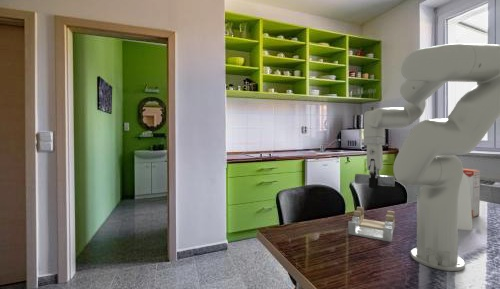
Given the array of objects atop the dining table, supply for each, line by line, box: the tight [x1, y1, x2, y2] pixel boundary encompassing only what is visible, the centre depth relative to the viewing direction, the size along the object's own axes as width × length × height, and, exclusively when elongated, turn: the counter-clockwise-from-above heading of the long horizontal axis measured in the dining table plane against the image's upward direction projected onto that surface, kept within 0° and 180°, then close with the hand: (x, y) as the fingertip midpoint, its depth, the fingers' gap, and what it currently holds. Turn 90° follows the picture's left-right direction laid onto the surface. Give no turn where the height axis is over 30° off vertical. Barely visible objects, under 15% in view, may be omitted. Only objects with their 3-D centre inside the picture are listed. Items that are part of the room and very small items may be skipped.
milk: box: [458, 173, 474, 231], centre depth 103 cm, size 12×12×26 cm
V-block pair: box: [347, 215, 394, 243], centre depth 94 cm, size 8×14×4 cm, turn 57°
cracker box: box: [463, 168, 481, 218], centre depth 118 cm, size 14×6×21 cm, turn 25°
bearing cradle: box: [353, 206, 396, 233], centre depth 102 cm, size 8×14×6 cm, turn 57°
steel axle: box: [354, 173, 396, 187], centre depth 101 cm, size 4×14×4 cm, turn 57°
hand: (374, 186), depth 101 cm, fingers closed on steel axle, 4 cm apart
